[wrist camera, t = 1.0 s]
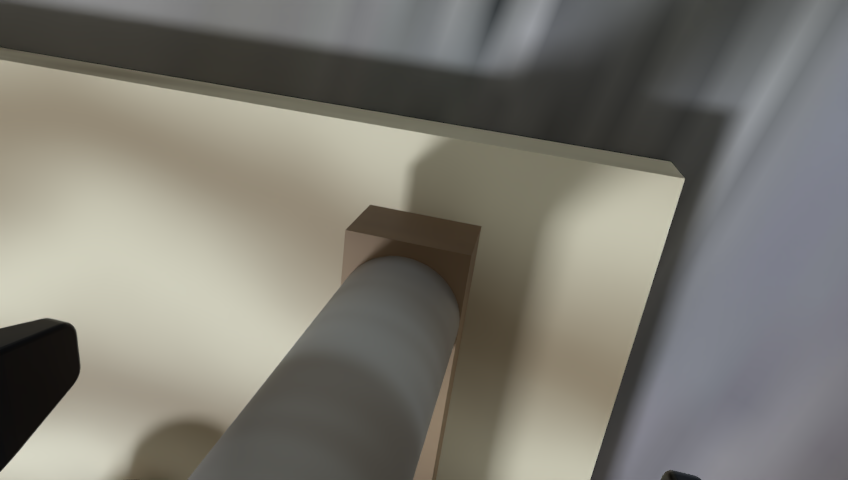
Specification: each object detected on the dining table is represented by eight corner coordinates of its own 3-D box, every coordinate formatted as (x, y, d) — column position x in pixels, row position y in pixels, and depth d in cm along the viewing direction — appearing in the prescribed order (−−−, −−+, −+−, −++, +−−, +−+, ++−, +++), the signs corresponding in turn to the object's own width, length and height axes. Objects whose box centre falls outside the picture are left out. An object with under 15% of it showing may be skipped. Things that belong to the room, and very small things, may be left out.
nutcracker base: (507, 702, 21) (492, 924, 16) (20, 550, 23) (-125, 695, 18) (671, 161, 13) (746, 253, 8) (-81, 33, 16) (-377, 40, 11)
